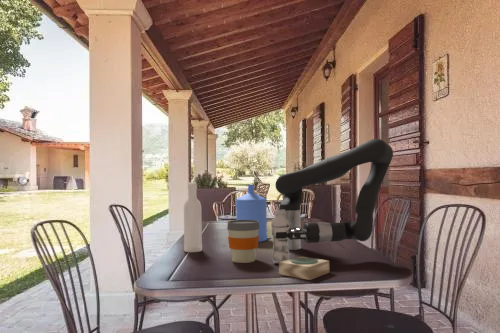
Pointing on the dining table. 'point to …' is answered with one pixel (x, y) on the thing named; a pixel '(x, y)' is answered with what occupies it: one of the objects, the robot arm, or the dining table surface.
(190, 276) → the dining table surface
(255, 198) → the water jug
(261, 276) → the dining table surface
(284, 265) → the base block
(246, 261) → the reusable coffee cup
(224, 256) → the dining table surface
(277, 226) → the plastic bottle
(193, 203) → the bottle
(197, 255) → the dining table surface
